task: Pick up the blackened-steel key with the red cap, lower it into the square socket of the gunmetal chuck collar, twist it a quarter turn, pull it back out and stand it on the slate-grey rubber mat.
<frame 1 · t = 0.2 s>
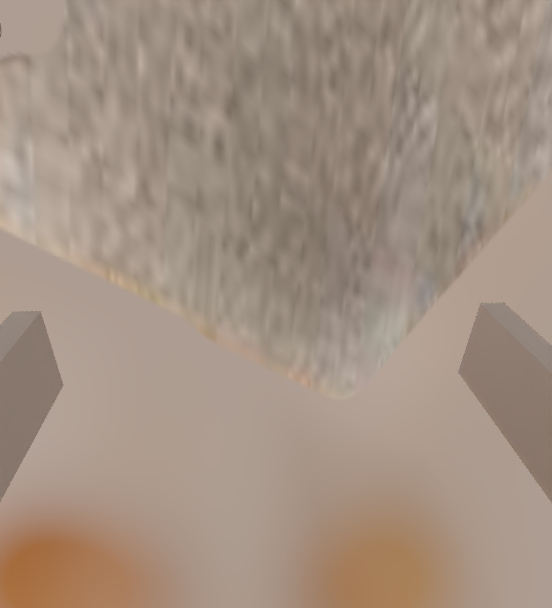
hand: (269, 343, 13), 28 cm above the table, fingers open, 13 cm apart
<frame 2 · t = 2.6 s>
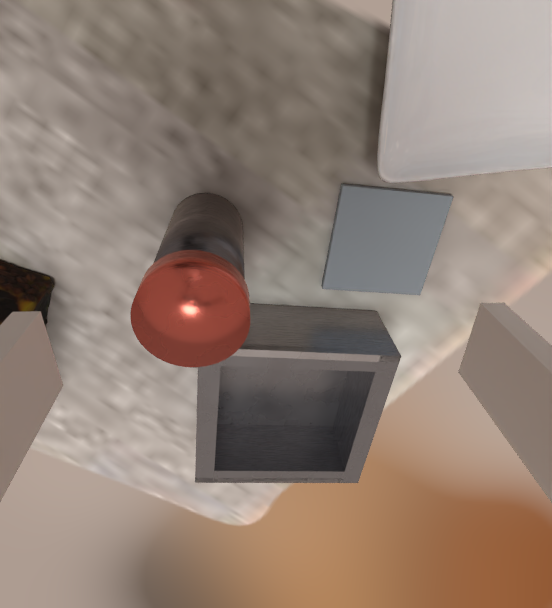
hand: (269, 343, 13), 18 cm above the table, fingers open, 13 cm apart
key: (207, 228, 29), on the table
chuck: (282, 373, 37), on the table
mat: (382, 242, 31), on the table
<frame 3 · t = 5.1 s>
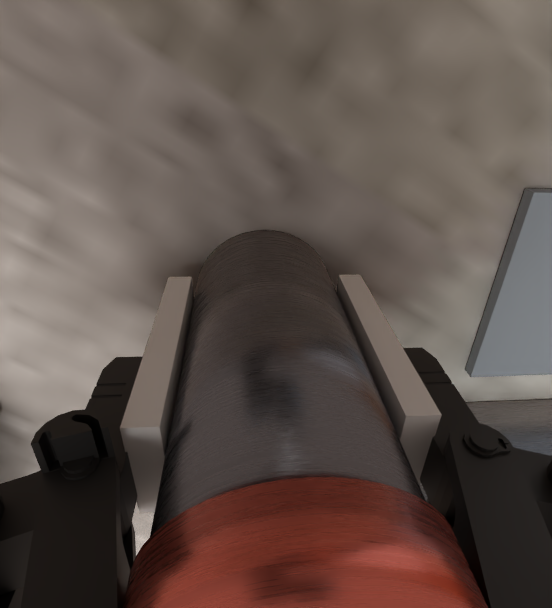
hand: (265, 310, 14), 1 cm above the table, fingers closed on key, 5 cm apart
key: (263, 293, 15), on the table, touching gripper
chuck: (388, 498, 23), on the table
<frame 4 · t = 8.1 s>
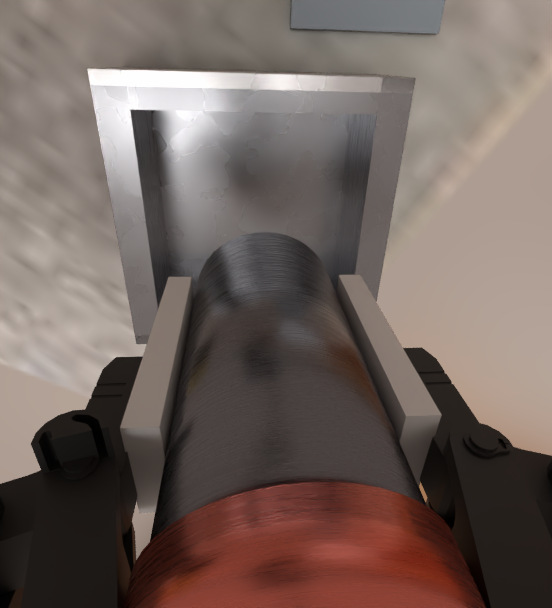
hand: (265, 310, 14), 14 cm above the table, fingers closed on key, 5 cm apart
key: (263, 295, 15), point 13 cm above the table, touching gripper
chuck: (252, 196, 26), on the table
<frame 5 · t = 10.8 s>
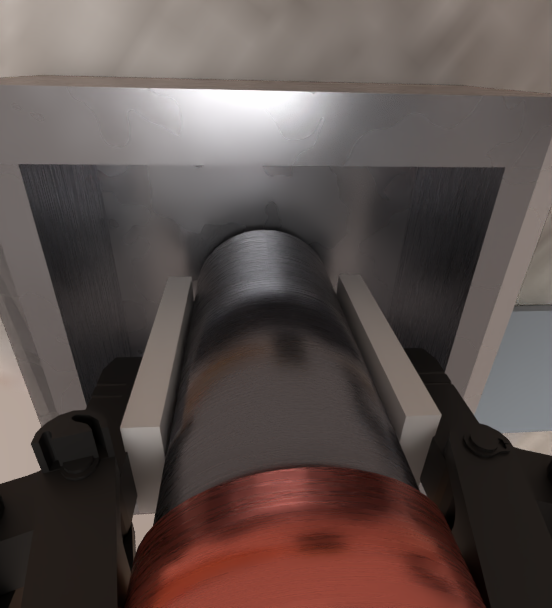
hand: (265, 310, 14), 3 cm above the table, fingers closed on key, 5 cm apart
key: (263, 292, 16), point 2 cm above the table, touching gripper
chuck: (260, 270, 17), on the table
mat: (510, 371, 21), on the table
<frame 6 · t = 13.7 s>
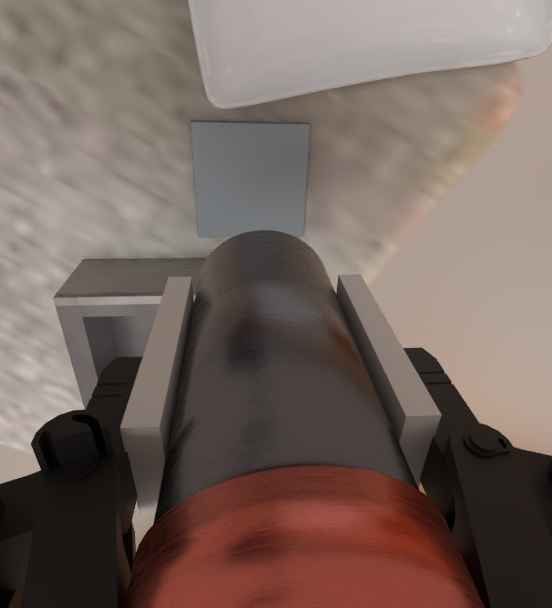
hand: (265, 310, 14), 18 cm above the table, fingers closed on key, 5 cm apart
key: (263, 292, 16), point 16 cm above the table, touching gripper
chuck: (182, 332, 36), on the table
mat: (251, 182, 30), on the table
when the fingers open (3 cm above the table, at t = 16.5 s): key drops 1 cm, resting on mat.
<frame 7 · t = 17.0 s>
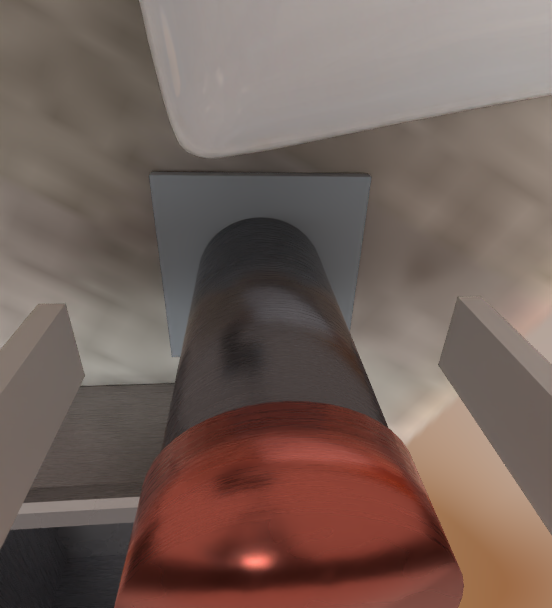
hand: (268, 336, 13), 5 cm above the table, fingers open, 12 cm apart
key: (260, 276, 17), point 1 cm above the table, touching mat
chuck: (153, 479, 23), on the table
mat: (261, 270, 17), on the table
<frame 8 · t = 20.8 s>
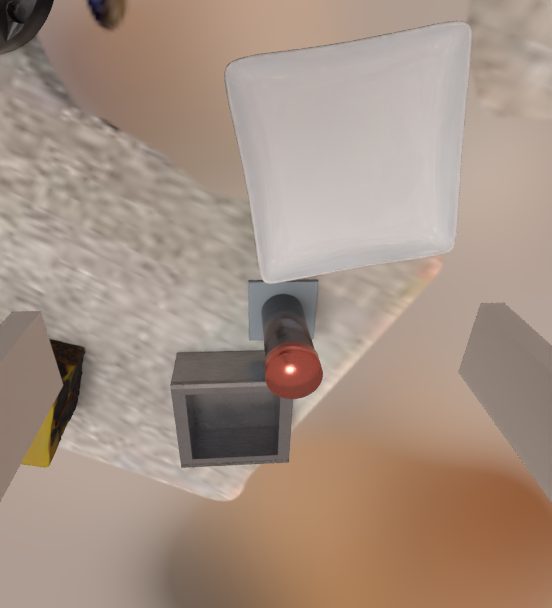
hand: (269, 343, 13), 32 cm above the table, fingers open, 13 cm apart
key: (282, 312, 49), point 1 cm above the table, touching mat
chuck: (234, 393, 55), on the table
salad plate: (346, 162, 42), on the table
mat: (282, 309, 49), on the table
candle: (40, 368, 51), on the table
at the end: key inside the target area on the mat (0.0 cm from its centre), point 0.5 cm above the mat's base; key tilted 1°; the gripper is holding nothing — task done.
